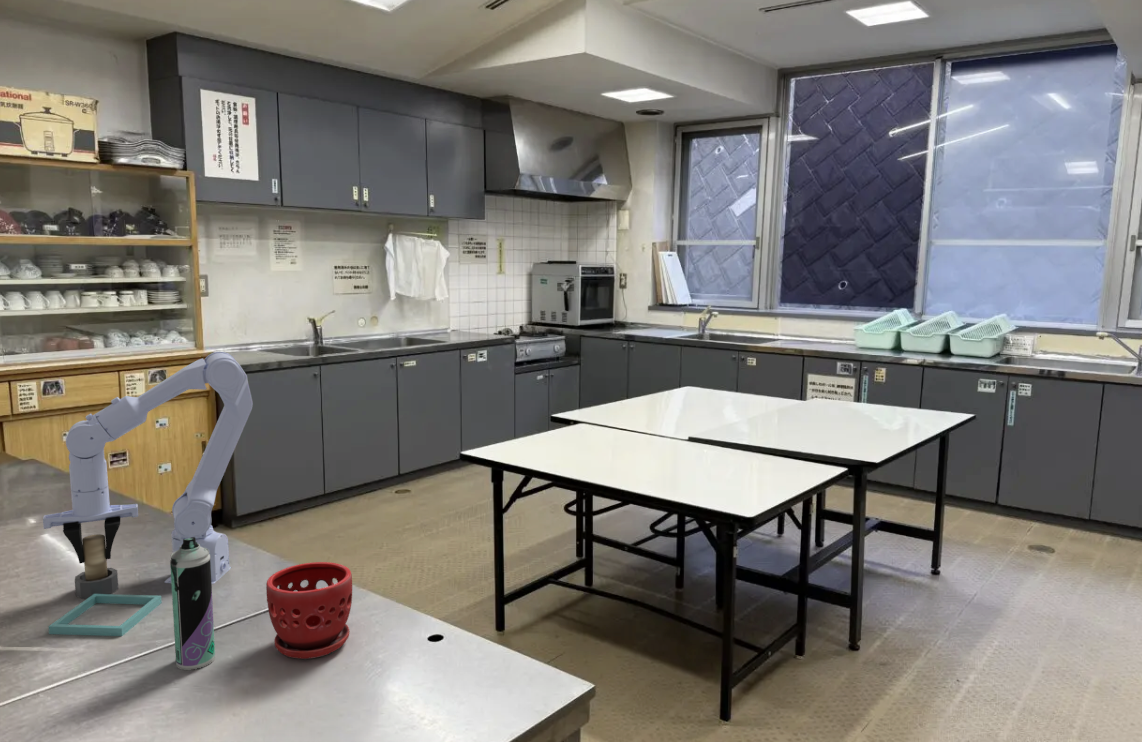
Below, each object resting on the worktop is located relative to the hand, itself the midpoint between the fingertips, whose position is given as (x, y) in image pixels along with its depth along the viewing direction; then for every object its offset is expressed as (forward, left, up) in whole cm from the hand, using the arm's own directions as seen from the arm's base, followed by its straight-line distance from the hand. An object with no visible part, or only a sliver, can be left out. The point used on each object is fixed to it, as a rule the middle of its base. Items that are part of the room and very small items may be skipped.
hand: (95, 559), depth 140 cm
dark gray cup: (0, 0, -7) cm, 7 cm away
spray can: (-29, +22, -7) cm, 37 cm away
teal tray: (-8, +10, -7) cm, 14 cm away
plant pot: (-45, +16, -7) cm, 48 cm away
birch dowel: (0, 0, -4) cm, 4 cm away
